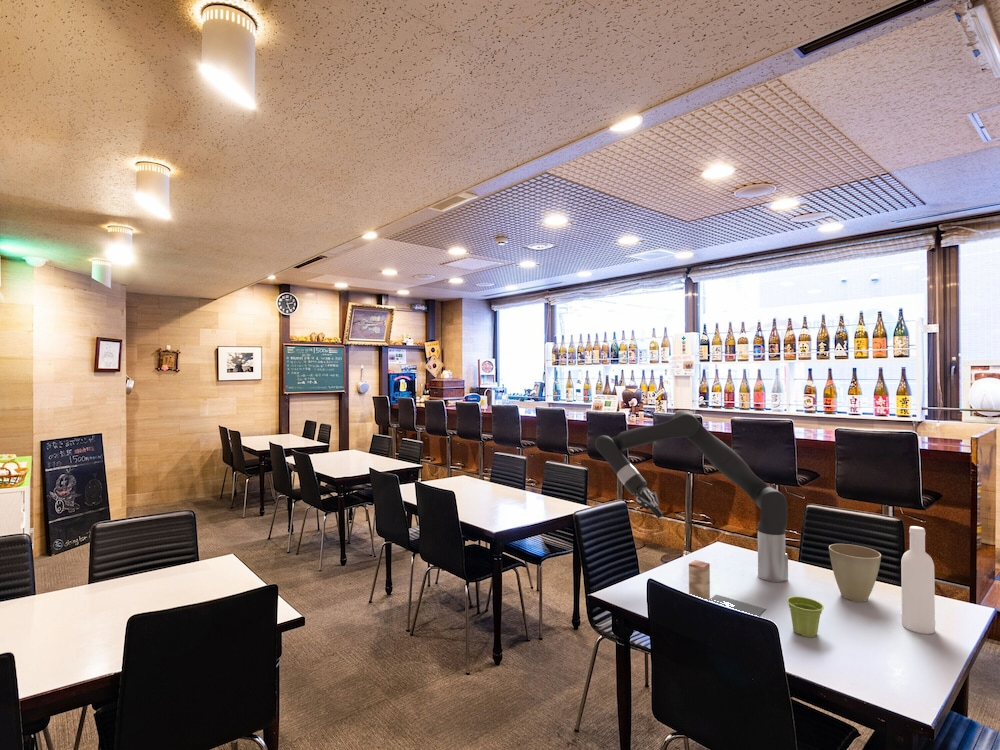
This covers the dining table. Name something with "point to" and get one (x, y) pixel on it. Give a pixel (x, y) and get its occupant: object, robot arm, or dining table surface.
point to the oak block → (699, 579)
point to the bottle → (918, 585)
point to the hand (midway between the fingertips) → (661, 516)
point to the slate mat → (739, 605)
